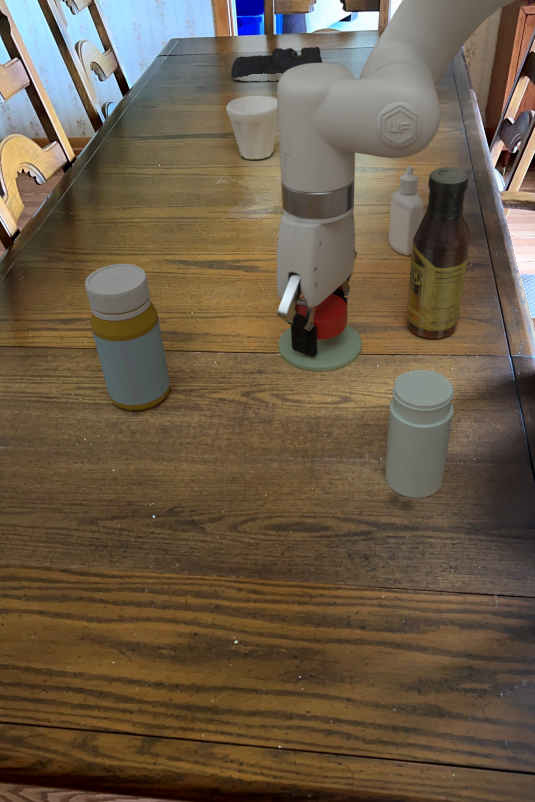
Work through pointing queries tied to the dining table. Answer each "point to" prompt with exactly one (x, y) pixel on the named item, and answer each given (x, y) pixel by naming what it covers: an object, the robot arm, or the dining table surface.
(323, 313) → the cap
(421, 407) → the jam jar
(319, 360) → the coaster
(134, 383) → the bottle
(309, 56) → the black sneaker
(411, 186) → the eye dropper bottle
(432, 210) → the sauce bottle
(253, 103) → the cup
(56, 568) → the dining table surface
